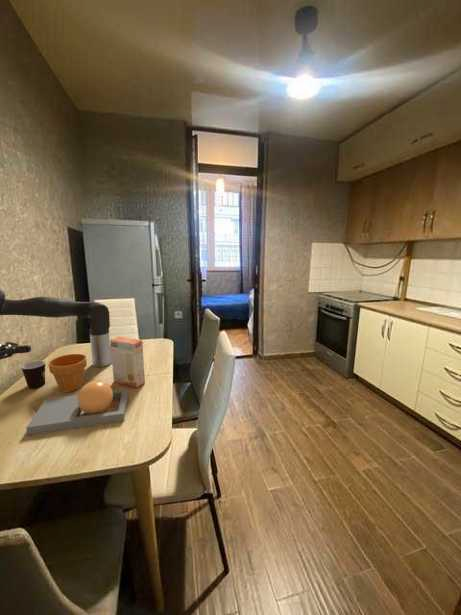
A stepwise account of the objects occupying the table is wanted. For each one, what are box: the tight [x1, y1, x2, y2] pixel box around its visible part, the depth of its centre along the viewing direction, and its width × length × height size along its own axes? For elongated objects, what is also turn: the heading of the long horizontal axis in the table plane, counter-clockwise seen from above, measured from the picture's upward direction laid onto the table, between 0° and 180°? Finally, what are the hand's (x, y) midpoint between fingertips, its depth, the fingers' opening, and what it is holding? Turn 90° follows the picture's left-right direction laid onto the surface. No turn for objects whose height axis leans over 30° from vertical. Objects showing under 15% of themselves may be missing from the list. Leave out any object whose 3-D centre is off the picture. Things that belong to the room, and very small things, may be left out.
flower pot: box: [48, 353, 88, 393], centre depth 120 cm, size 14×14×13 cm
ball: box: [77, 380, 114, 415], centre depth 102 cm, size 12×12×12 cm
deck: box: [25, 388, 129, 436], centre depth 102 cm, size 30×18×3 cm, turn 106°
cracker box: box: [110, 336, 146, 389], centre depth 123 cm, size 14×6×21 cm, turn 65°
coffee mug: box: [21, 360, 46, 390], centre depth 123 cm, size 12×9×10 cm
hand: (30, 348), depth 94 cm, fingers closed
